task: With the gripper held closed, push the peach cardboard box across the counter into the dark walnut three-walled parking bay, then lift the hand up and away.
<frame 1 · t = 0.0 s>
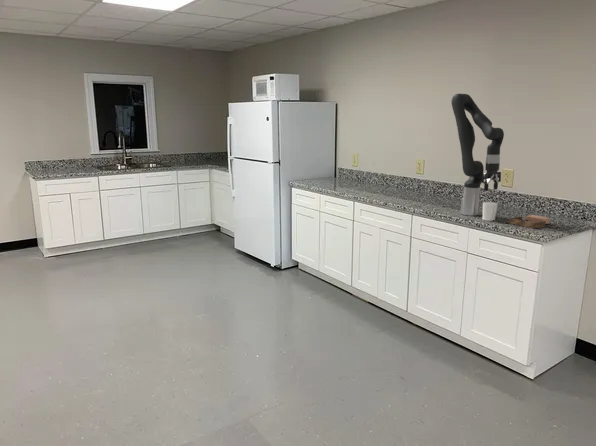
hand: (490, 189, 274), 17 cm above the worktop, tool pointing down, fingers open, 8 cm apart
white cup: (488, 220, 273), on the worktop
parking bay: (527, 224, 260), on the worktop
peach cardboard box: (537, 223, 265), on the worktop
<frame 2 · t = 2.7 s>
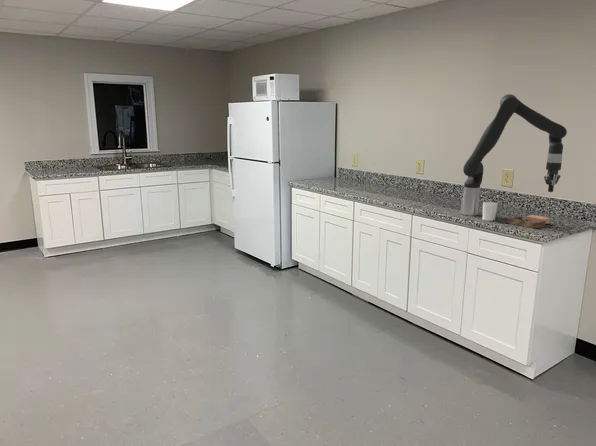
hand: (550, 191, 266), 18 cm above the worktop, tool pointing down, fingers closed
nothing on the worktop moved.
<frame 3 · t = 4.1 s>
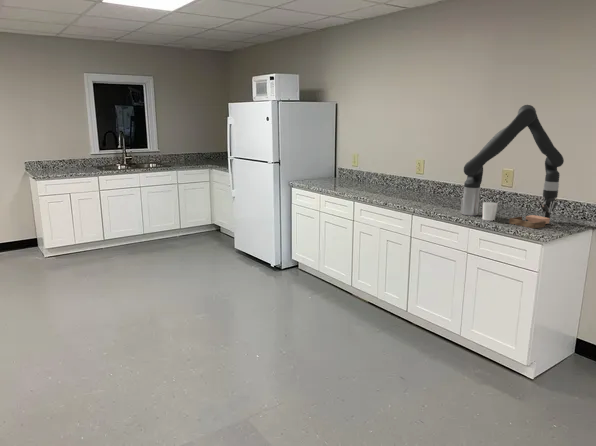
hand: (547, 218, 269), 2 cm above the worktop, tool pointing down, fingers closed
nothing on the worktop moved.
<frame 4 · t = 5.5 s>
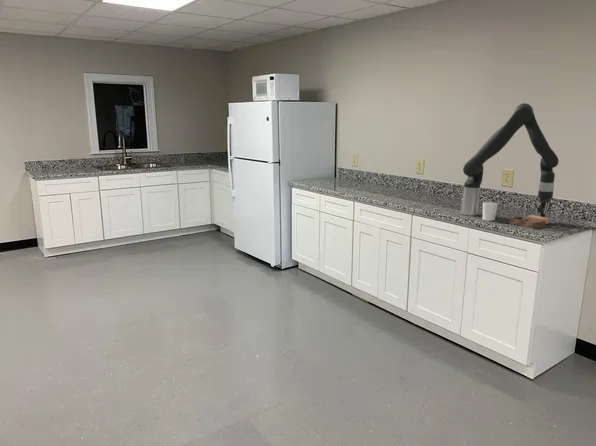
hand: (542, 219, 268), 1 cm above the worktop, tool pointing down, fingers closed
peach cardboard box: (536, 223, 265), on the worktop, touching gripper
everything else where it was.
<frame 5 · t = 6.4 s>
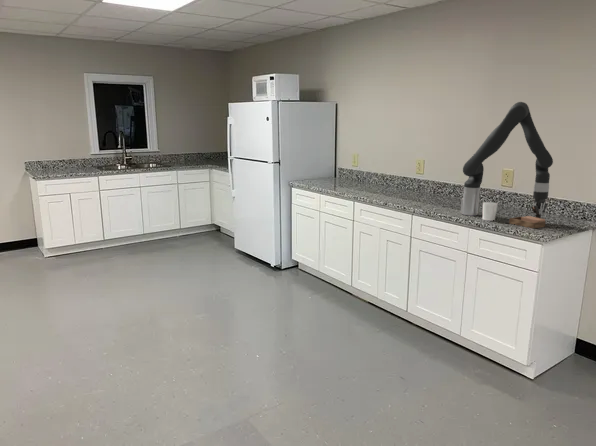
hand: (537, 220, 265), 2 cm above the worktop, tool pointing down, fingers closed
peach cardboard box: (532, 224, 262), on the worktop, touching gripper
everything else where it was.
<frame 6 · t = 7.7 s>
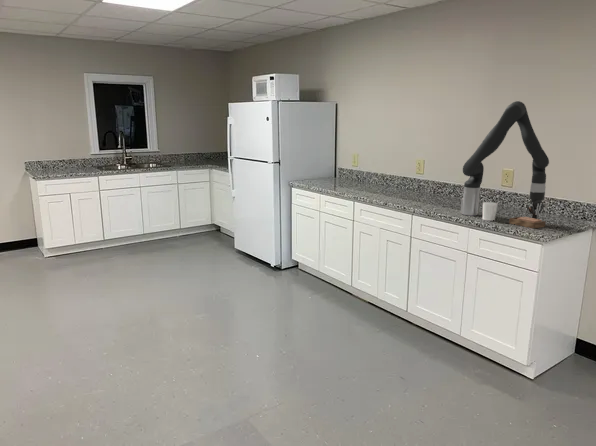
hand: (534, 221, 263), 2 cm above the worktop, tool pointing down, fingers closed
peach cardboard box: (528, 224, 260), on the worktop, touching gripper
everything else where it was.
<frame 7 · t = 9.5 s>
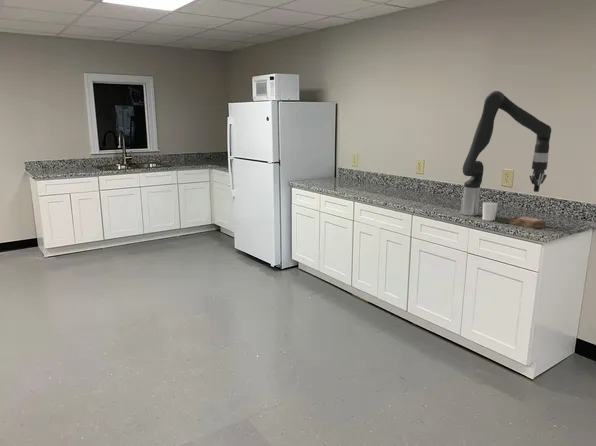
hand: (536, 191, 261), 18 cm above the worktop, tool pointing down, fingers closed
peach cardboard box: (528, 224, 260), on the worktop
everything else where it was.
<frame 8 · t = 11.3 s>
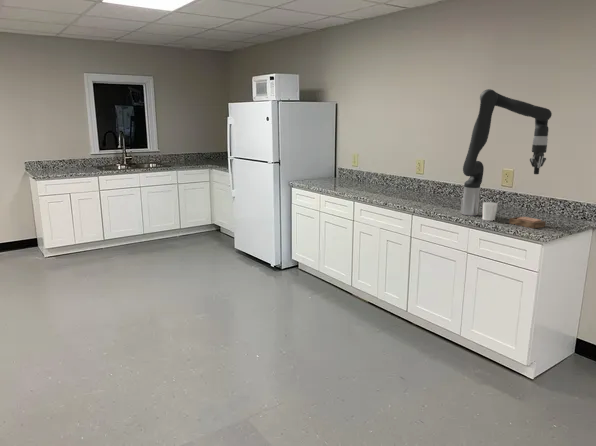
hand: (536, 174, 269), 27 cm above the worktop, tool pointing down, fingers closed
nothing on the worktop moved.
at the end: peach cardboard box 0.9 cm off-centre on the parking bay, point 0.0 cm above the parking bay's base; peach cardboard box tilted 0°; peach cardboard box moved 8.7 cm from its start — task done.
